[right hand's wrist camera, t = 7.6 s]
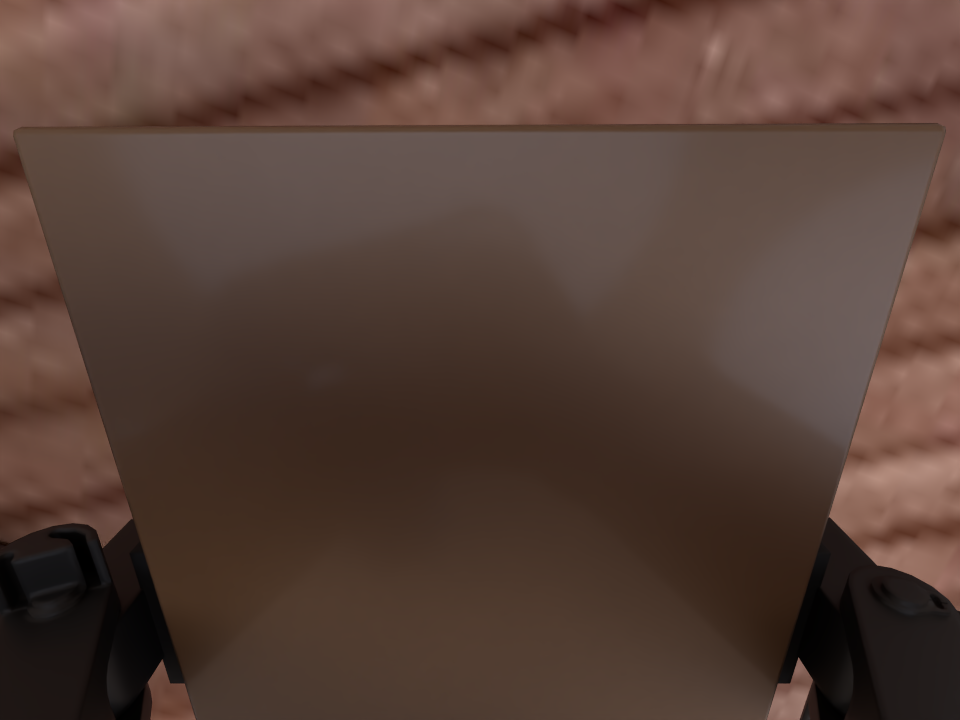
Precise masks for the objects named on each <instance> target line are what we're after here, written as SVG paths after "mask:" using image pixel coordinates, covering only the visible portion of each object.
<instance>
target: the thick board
mask: <svg viewBox="0 0 960 720" xmlns="http://www.w3.org/2000/svg"><path fill="white" fill-rule="evenodd" d="M945 133H946V129H945V126H942V125H940V124H938V123H851V124H616V125H381V126H146V127H21V128H19V129H16V130H14V133H13V137H14V140H15V143H16V147H17V150H18V153H19V156H20V159H21V163H22V166H23V169H24V172H25V175H26V178H27V182H28V185H29V188H30V191H31V194H32V198H33V201H34V204H35V207H36V210H37V214H38V217H39V220H40V223H41V226H42V229H43V233H44V236H45V239H46V242H47V245H48V249H49V252H50V255H51V258H52V261H53V265H54V268H55V271H56V274H57V277H58V281H59V284H60V287H61V290H62V293H63V296H64V300H65V303H66V306H67V309H68V312H69V316H70V319H71V322H72V325H73V328H74V332H75V335H76V338H77V341H78V344H79V348H80V351H81V354H82V357H83V360H84V363H85V367H86V370H87V373H88V376H89V379H90V383H91V386H92V389H93V392H94V395H95V399H96V402H97V405H98V408H99V411H100V415H101V418H102V421H103V424H104V427H105V430H106V434H107V437H108V440H109V443H110V446H111V450H112V453H113V456H114V459H115V462H116V466H117V469H118V472H119V475H120V478H121V482H122V485H123V488H124V491H125V494H126V497H127V501H128V504H129V507H130V510H131V513H132V517H133V520H134V523H135V526H136V529H137V533H138V536H139V539H140V542H141V545H142V549H143V552H144V555H145V558H146V561H147V564H148V568H149V571H150V574H151V577H152V580H153V584H154V587H155V590H156V593H157V596H158V600H159V603H160V606H161V609H162V612H163V616H164V619H165V622H166V625H167V628H168V631H169V635H170V638H171V641H172V644H173V647H174V651H175V654H176V657H177V660H178V663H179V667H180V670H181V673H182V676H183V679H184V683H185V686H186V689H187V692H188V695H189V698H190V702H191V705H192V708H193V711H194V714H195V718H196V720H767V717H768V714H769V710H770V707H771V704H772V701H773V697H774V694H775V691H776V687H777V684H778V681H779V678H780V674H781V671H782V668H783V664H784V661H785V658H786V655H787V651H788V648H789V645H790V641H791V638H792V635H793V632H794V628H795V625H796V622H797V619H798V615H799V612H800V609H801V605H802V602H803V599H804V596H805V592H806V589H807V586H808V582H809V579H810V576H811V573H812V569H813V566H814V563H815V560H816V556H817V553H818V550H819V546H820V543H821V540H822V537H823V533H824V530H825V527H826V523H827V520H828V517H829V514H830V510H831V507H832V504H833V501H834V497H835V494H836V491H837V487H838V484H839V481H840V478H841V474H842V471H843V468H844V464H845V461H846V458H847V455H848V451H849V448H850V445H851V441H852V438H853V435H854V432H855V428H856V425H857V422H858V419H859V415H860V412H861V409H862V405H863V402H864V399H865V396H866V392H867V389H868V386H869V382H870V379H871V376H872V373H873V369H874V366H875V363H876V360H877V356H878V353H879V350H880V346H881V343H882V340H883V337H884V333H885V330H886V327H887V323H888V320H889V317H890V314H891V310H892V307H893V304H894V301H895V297H896V294H897V291H898V287H899V284H900V281H901V278H902V274H903V271H904V268H905V264H906V261H907V258H908V255H909V251H910V248H911V245H912V242H913V238H914V235H915V232H916V228H917V225H918V222H919V219H920V215H921V212H922V209H923V205H924V202H925V199H926V196H927V192H928V189H929V186H930V182H931V179H932V176H933V173H934V169H935V166H936V163H937V160H938V156H939V153H940V150H941V146H942V143H943V140H944V137H945Z"/></svg>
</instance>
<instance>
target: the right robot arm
mask: <svg viewBox="0 0 960 720" xmlns="http://www.w3.org/2000/svg"><path fill="white" fill-rule="evenodd" d="M798 657H799V658H800V660H801V662H802V663H803V665H804V666H805V668H806V669H807V671H808V672H809V674H810V676H811V677H812V679H813V682H812V685H811V688H810V691H809V694H808V697H807V700H806V703H805V706H804V709H803V712H802V715H801V718H800V720H960V611H957V610H956V609H955V607H954V606H953V605H952V603H951V602H950V601H949V600H948V599H947V598H946V597H945V596H943V595H942V594H941V593H940V592H938V591H937V590H936V589H935V588H933V587H932V586H930V585H928V584H927V583H925V582H923V581H921V580H919V579H918V578H916V577H914V576H912V575H909V574H907V573H904V572H901V571H898V570H895V569H893V568H888V567H882V566H877V565H876V564H875V563H874V562H873V561H872V560H871V559H870V558H869V557H868V556H867V555H866V554H865V553H864V552H863V551H862V550H861V549H860V548H859V547H858V546H857V545H856V544H855V543H854V542H853V541H852V540H851V539H850V538H849V537H848V535H847V534H846V533H845V532H844V531H843V530H842V529H841V528H840V527H839V526H838V525H837V524H836V523H835V522H834V521H833V520H832V519H831V518H828V520H827V523H826V527H825V530H824V533H823V537H822V540H821V543H820V546H819V550H818V553H817V556H816V560H815V563H814V566H813V569H812V573H811V576H810V579H809V582H808V586H807V589H806V592H805V596H804V599H803V602H802V605H801V609H800V612H799V615H798V619H797V622H796V625H795V628H794V632H793V635H792V638H791V641H790V645H789V648H788V651H787V655H786V658H785V661H784V664H783V668H782V671H781V674H780V678H779V681H778V683H790V682H791V679H792V676H793V673H794V669H795V666H796V663H797V660H798ZM162 659H163V662H164V665H165V668H166V671H167V674H168V677H169V681H170V683H184V679H183V676H182V673H181V670H180V667H179V663H178V660H177V657H176V654H175V651H174V647H173V644H172V641H171V638H170V635H169V631H168V628H167V625H166V622H165V619H164V616H163V612H162V609H161V606H160V603H159V600H158V596H157V593H156V590H155V587H154V584H153V580H152V577H151V574H150V571H149V568H148V564H147V561H146V558H145V555H144V552H143V549H142V545H141V542H140V539H139V536H138V533H137V529H136V526H135V523H134V520H133V519H131V520H130V521H129V522H128V523H127V524H126V525H125V526H124V527H123V528H122V529H121V530H120V531H119V532H118V533H117V534H116V535H115V536H114V537H113V538H112V539H111V541H110V542H109V543H108V544H107V545H106V546H105V547H104V548H103V549H102V546H101V543H100V540H99V537H98V534H97V531H96V530H95V529H93V528H92V527H90V526H89V525H85V524H75V523H71V524H64V525H58V526H52V527H49V528H46V529H43V530H39V531H36V532H33V533H30V534H28V535H26V536H24V537H22V538H20V539H18V540H16V541H14V542H12V543H10V544H8V545H7V546H4V545H0V720H150V717H151V708H152V698H151V691H150V688H149V685H148V681H149V679H150V677H151V676H152V674H153V673H154V671H155V670H156V668H157V666H158V665H159V663H160V662H161V660H162Z"/></svg>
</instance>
